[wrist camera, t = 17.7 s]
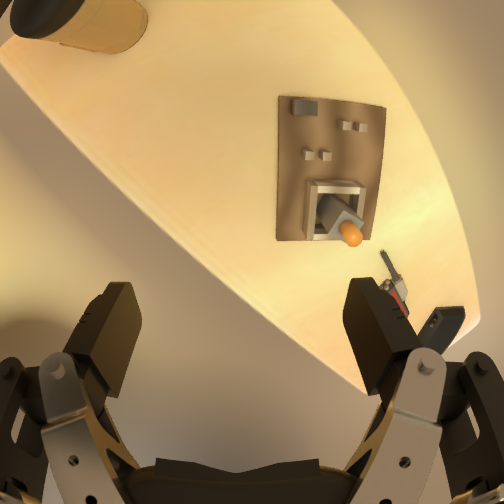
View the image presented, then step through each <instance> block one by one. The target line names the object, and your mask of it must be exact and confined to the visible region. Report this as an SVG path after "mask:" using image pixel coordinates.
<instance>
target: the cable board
mask: <svg viewBox="0 0 504 504" xmlns="http://www.w3.org/2000/svg"><path fill="white" fill-rule="evenodd" d="M385 124H386V108H383V107H378V106H372V105H366V104H359V103H352V102H345V101H337V100H327V99H317V98H304V97H284V96H279V135H278V193H277V228H276V239H277V241H319V240H340V239H338V238H336V237H334V236H332V235H330V234H328V232H327V231H326V229H325V227H324V226H323V224H322V222H321V221H320V219H319V217H318V216H317V214H316V206H317V205H318V203H319V201H320V200H321V198H322V197H323V195H324V193H332V194H334V195H335V196H337V197H339V198H340V199H342V200H344V201H345V202H346V203H347V204H348V205H349V206H350V207H351V208H352V209H353V210H354V212H355V213H356V214H357V215H358V216H359V217H360V218H361V219H362V220H363V222H364V224H363V226H362V227H361V228H360V230H359V231H360V232H361V233H362V235H363V240H370V237H371V232H372V227H373V221H374V216H375V210H376V204H377V197H378V191H379V183H380V176H381V168H382V159H383V149H384V138H385Z"/></svg>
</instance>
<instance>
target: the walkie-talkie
mask: <svg viewBox="0 0 504 504" xmlns="http://www.w3.org/2000/svg"><path fill="white" fill-rule="evenodd" d="M381 256H382V258H383V259H384V261H385V263H386V265H387V267H388V269H389V271H390V272H391V274H392V278H393V279H392V280H388V279H387V280H385V283H383V284H382V285H381V286H379V289H380V290H385V291H387V292H388V293H389V294H390V295H392V296H393V297H394V298H395V299H396V301H397V303H398V304H399V306H400V308H401V310H402V311H403V312H404V314H405V317H406V318H408V315H409V311H408V308H407V306H406V304H405V299H406V296H407V293H408V290H407V288H406V286H405V284H404V280H403V278H402V277H401V275H400V274H399V275H398V274H397V273H396V271H395V269H394V267H393V265H392V263H391V261H390V259H389V257H388V255H387V254H386V252H383V253H382V254H381Z"/></svg>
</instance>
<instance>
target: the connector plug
mask: <svg viewBox="0 0 504 504" xmlns="http://www.w3.org/2000/svg"><path fill="white" fill-rule="evenodd" d="M316 214H317V216H318V217H319V219H320V221H321V222H322V224H323V226H324V227H325V229H326V231H327V232H328V234H330V235H332V236H334V237H336V238H338V239H340V240H342V241H343V242H345V243H347V245H348V246H350V247H356V246H358V245H359V244H360V243H361V242H362V240H363V235H362V233H361V232H360V231H359V230H360V228H361V227H362V226H363V224H364V222H363V220H362V219H361V218H360V217H359V216H358V215H357V214H356V213H355V212H354V210H353V209H352V208H351V207H350V206H349V205H348V204H347V203H346V202H345V201H344V200H342V199H340V198H339V197H337V196H335V195H334V194H332V193H324V195H323V197H322V198H321V200H320V201H319V203H318V205H317V206H316Z"/></svg>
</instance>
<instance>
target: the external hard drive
mask: <svg viewBox="0 0 504 504" xmlns="http://www.w3.org/2000/svg"><path fill="white" fill-rule="evenodd" d="M465 316H466V315H465V309H464V306H453V307H436V308H435V309H434V311H433V312H432V314H431V315H430V317H429V318H428V320H427V321H426V323H425V324H424V326H423V328H422V329H421V331H420V332H419V334H418V338H419V340H420V342H421V344H422V345H423V347H424V348H429V349H432V350H434V351H436V352H437V353H439V354H440V355H442V354H443V353H444V351H445V350H446V349H447V348H448V346H449V345H450V344H451V342H452V341H453V339H454V338H455V336H456V335H457V333H458V331H459V329H460V328H461V326H462V324H463V322H464V319H465Z"/></svg>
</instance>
